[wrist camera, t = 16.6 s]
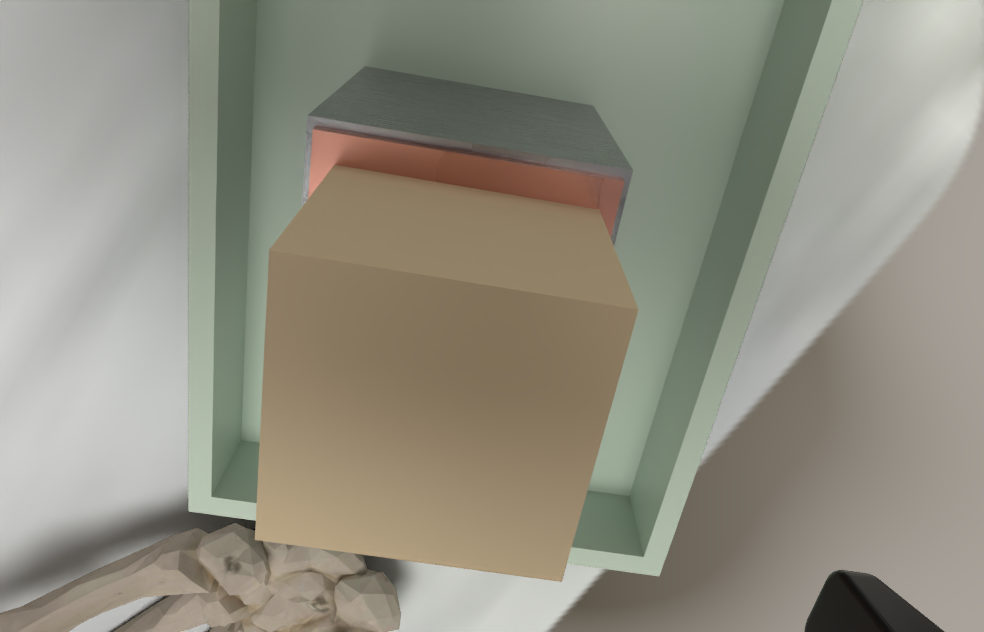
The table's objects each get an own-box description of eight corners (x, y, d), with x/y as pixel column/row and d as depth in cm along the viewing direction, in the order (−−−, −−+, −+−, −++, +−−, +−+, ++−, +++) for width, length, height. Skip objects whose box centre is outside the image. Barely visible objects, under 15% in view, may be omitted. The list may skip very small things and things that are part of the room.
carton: (334, 164, 13) (269, 250, 9) (599, 209, 13) (638, 309, 9) (315, 394, 15) (255, 539, 11) (546, 428, 15) (561, 581, 11)
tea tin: (364, 65, 18) (303, 117, 12) (593, 105, 18) (635, 173, 13) (345, 278, 20) (287, 404, 15) (548, 310, 21) (567, 444, 15)
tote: (246, -276, 16) (189, -327, 13) (850, -151, 17) (924, -172, 14) (226, 442, 23) (188, 511, 20) (639, 501, 24) (659, 576, 21)
